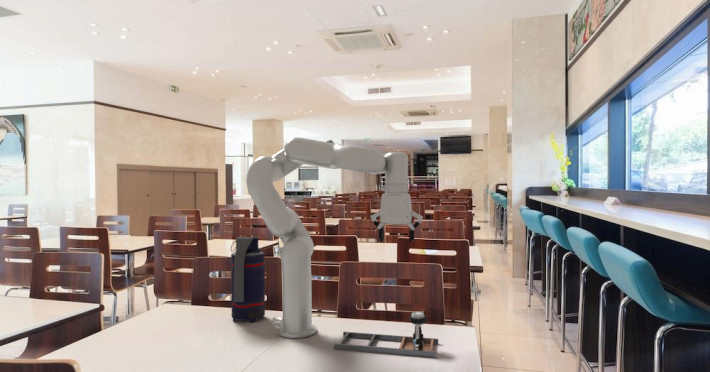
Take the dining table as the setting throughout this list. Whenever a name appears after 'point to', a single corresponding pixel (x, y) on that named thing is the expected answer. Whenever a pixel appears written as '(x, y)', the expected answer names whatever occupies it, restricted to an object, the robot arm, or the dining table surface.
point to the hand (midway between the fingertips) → (396, 241)
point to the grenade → (247, 280)
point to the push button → (418, 328)
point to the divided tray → (408, 349)
